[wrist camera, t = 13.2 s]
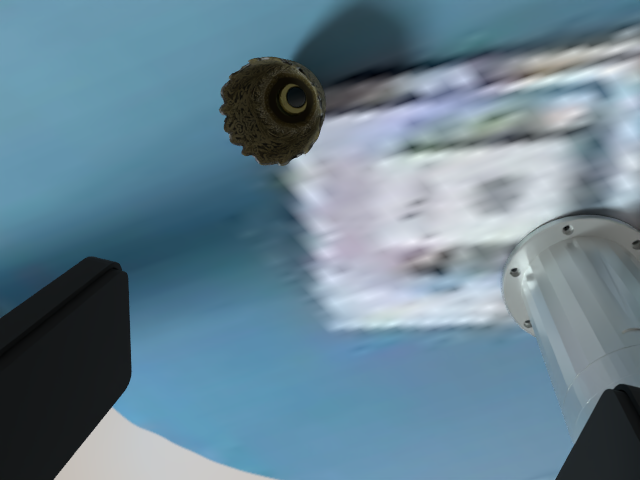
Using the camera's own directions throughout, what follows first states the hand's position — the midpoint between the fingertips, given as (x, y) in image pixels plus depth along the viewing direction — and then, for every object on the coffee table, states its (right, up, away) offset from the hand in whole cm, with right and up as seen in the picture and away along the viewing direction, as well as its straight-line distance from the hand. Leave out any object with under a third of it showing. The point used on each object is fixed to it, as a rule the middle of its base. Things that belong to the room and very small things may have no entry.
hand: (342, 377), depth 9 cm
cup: (-2, +15, +31) cm, 35 cm away
